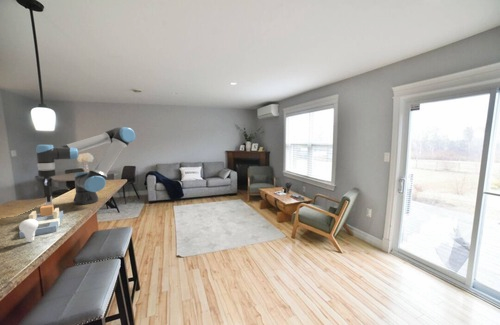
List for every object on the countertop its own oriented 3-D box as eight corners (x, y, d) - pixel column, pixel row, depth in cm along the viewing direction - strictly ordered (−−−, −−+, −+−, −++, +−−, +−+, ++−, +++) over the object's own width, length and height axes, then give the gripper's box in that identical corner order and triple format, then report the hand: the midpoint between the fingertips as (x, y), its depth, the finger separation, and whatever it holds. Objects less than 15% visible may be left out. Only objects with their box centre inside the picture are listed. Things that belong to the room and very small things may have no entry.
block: (42, 214, 123) (41, 206, 122) (54, 212, 126) (53, 204, 125) (40, 216, 119) (40, 208, 118) (52, 214, 122) (51, 206, 121)
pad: (27, 228, 110) (26, 223, 110) (60, 223, 118) (59, 217, 117) (24, 232, 106) (23, 226, 105) (58, 226, 113) (58, 221, 113)
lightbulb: (34, 244, 94) (31, 221, 93) (17, 246, 92) (14, 222, 91) (43, 238, 100) (41, 216, 99) (27, 239, 98) (24, 217, 97)
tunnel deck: (33, 219, 122) (32, 208, 121) (63, 215, 129) (62, 204, 129) (19, 238, 99) (18, 224, 99) (56, 231, 107) (55, 218, 106)
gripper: (40, 168, 130) (43, 204, 133) (35, 171, 120) (38, 210, 122) (56, 168, 135) (59, 203, 137) (53, 170, 124) (56, 208, 127)
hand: (49, 206), depth 130 cm, fingers closed
